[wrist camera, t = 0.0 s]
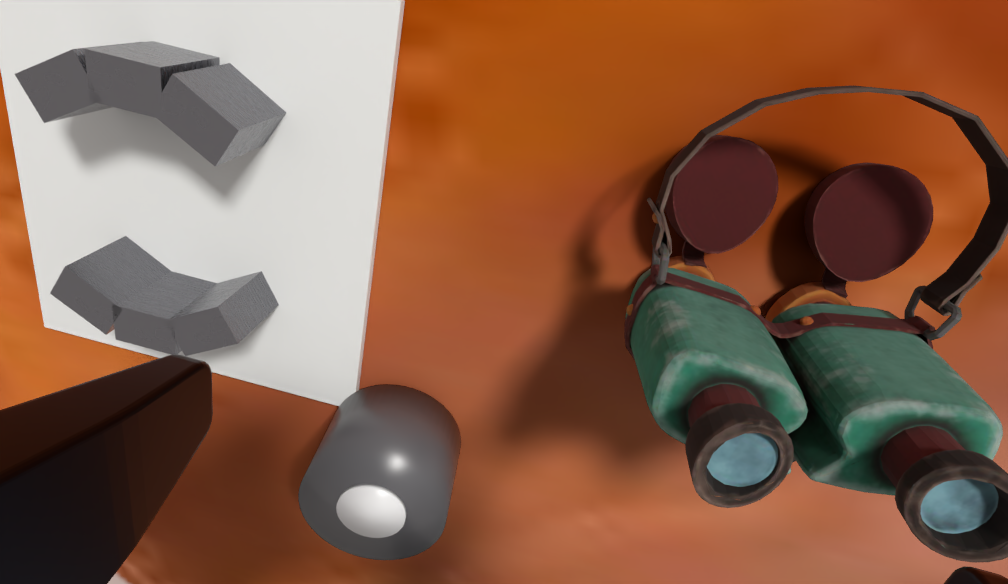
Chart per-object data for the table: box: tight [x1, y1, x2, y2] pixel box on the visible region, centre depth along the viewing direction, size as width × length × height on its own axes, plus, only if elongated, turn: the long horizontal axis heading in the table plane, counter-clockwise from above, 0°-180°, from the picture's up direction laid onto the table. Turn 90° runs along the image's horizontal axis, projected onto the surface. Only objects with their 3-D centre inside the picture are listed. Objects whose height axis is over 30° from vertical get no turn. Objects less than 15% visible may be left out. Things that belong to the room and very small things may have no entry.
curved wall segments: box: [15, 41, 286, 356], centre depth 21 cm, size 10×7×3 cm
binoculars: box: [625, 86, 1008, 562], centre depth 16 cm, size 9×11×10 cm
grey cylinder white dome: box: [299, 384, 461, 560], centre depth 25 cm, size 6×6×4 cm
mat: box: [0, 0, 405, 406], centre depth 23 cm, size 16×14×1 cm
